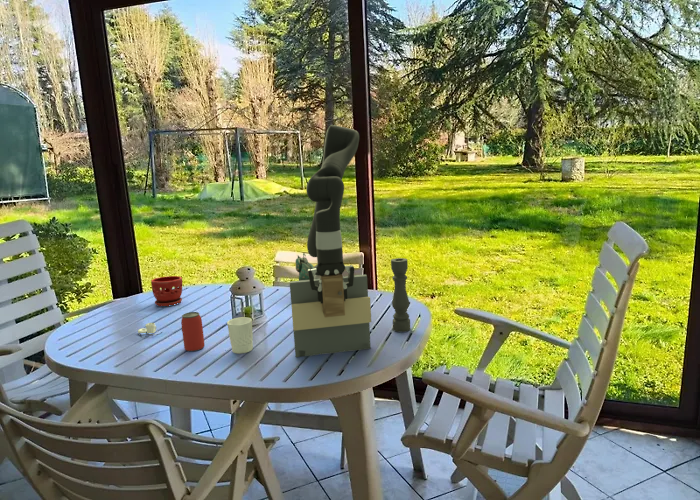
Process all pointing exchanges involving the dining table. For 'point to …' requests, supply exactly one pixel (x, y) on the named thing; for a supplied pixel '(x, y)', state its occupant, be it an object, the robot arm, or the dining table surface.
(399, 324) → the candle holder
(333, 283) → the cabinet
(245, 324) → the white cup
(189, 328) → the beer can
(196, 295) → the dining table surface
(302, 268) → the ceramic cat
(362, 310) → the wall board
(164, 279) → the plant pot
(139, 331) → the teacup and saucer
